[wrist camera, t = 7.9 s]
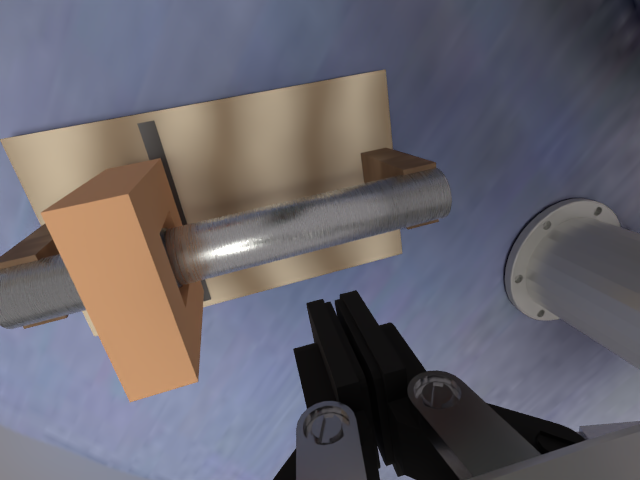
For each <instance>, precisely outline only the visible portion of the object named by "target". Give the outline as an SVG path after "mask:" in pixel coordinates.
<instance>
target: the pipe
mask: <svg viewBox="0 0 640 480" xmlns="http://www.w3.org/2000/svg"><path fill="white" fill-rule="evenodd" d="M451 203H452V198H451V191H450V187H449V184H448V181H447V179H446V177H445V175H444V174H443V173H442V171H440V170H439V169H438V168H433V169H429V170H424V171H420V172H416V173H411V174H407V175H398V176H394V177H389V178H385V179H381V180H377V181H372V182H368V183H364V184H359V185H355V186H351V187H346V188H342V189H338V190H334V191H329V192H325V193H321V194H316V195H312V196H308V197H303V198H299V199H295V200H290V201H286V202H282V203H278V204H273V205H269V206H265V207H260V208H256V209H252V210H247V211H243V212H239V213H235V214H230V215H226V216H222V217H217V218H213V219H209V220H204V221H200V222H196V223H191V224H187V225H183V226H179V227H174V228H170V229H167V228H162V229H161V232H160V237H161V240H162V243H163V245H164V248H165V251H166V254H167V257H168V260H169V262H170V265H171V268H172V271H173V274H174V276H175V279H176V282H177V285H178V288H181V287H182V286H183V285H185V284H189V283H193V282H197V281H201V280H204V279H208V278H212V277H216V276H220V275H224V274H228V273H232V272H236V271H239V270H243V269H247V268H251V267H255V266H259V265H263V264H267V263H270V262H274V261H278V260H282V259H286V258H290V257H294V256H298V255H301V254H305V253H309V252H313V251H317V250H321V249H325V248H329V247H332V246H336V245H340V244H344V243H348V242H352V241H356V240H360V239H364V238H367V237H371V236H375V235H379V234H383V233H387V232H391V231H395V230H398V229H402V228H406V227H410V226H414V225H418V224H422V223H426V222H429V221H433V220H437V219H441V218H445V217H446V216H447V215H448V214H449V212H450V209H451ZM84 310H86V308H85V306H84V304H83V302H82V300H81V298H80V296H79V293H78V291H77V289H76V287H75V285H74V283H73V281H72V279H71V277H70V274H69V272H68V270H67V268H66V266H65V264H64V262H63V260H62V258H61V255H60V254H58V255H54V256H49V257H45V258H41V259H39V260H38V261H33V262H29V263H25V264H21V265H16V266H12V267H8V268H3V269H0V325H1V326H2V327H4V328H7V329H14V328H18V327H22V326H26V325H30V324H34V323H38V322H42V321H45V320H49V319H53V318H57V317H61V316H65V315H69V314H73V313H76V312H80V311H84Z"/></svg>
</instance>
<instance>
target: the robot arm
mask: <svg viewBox="0 0 640 480" xmlns="http://www.w3.org/2000/svg"><path fill="white" fill-rule="evenodd" d="M505 286H506V292H507V294H508V297H509V299H510V301H511V302H512V304H513V305H514V306H515V307H516V308H517V309H518V310H519V311H521V312H522V313H524V314H525V315H527V316H528V317H530V318H533V319H535V320H542V321H550V320H557V319H562V320H563V321H565V322H566V323H568V324H570V325H571V326H573V327H574V328H576V329H577V330H579V331H580V332H582V333H583V334H585V335H587V336H588V337H590V338H591V339H593V340H594V341H596V342H597V343H599V344H600V345H602V346H604V347H605V348H607V349H608V350H610V351H611V352H613V353H614V354H616V355H617V356H619V357H621V358H622V359H624V360H625V361H627V362H628V363H630V364H631V365H633V366H634V367H636V368H638V369H639V370H640V234H639V233H636V232H633V231H630V230H627V229H624V228H621V226H620V223H619V221H618V218H617V216H616V215H615V214H614V212H613V211H612V210H611V209H610V208H609V207H607V206H606V205H604V204H602V203H599V202H596V201H593V200H589V199H583V198H577V199H569V200H565V201H561V202H559V203H557V204H555V205H552V206H550V207H549V208H547V209H546V210H544V211H543V212H541V213H540V214H538V215H537V216H536V217H535V218H534V219H533V220H532V221H531V222H530V223H529V224H528V225H527V226H526V228H525V229H524V230H523V231H522V232H521V234H520V235H519V237H518V239H517V240H516V242H515V243H514V245H513V247H512V250H511V252H510V255H509V257H508V261H507V265H506V269H505ZM335 306H336V312H337V315H336V313H335V311H334V308H333V306H332V304H331V302H327V303H324V300H323V299H320V300H317V301H313V302H309V303H307V310H308V314H309V319H310V324H311V328H312V333H313V338H314V343H313V344H309V345H306V346H302V347H298V348H294V349H293V350H294V354H295V358H296V363H297V367H298V371H299V376H300V380H301V384H302V389H303V393H304V397H305V402H306V406H307V410H306V411H305V412H304V413H303V414H302V415H301V417H300V418H299V420H298V423H297V428H296V449H295V450H294V452H293V453H292V454H291V456H290V457H289V459H288V460H287V461H286V463H285V464H284V465H283V467H282V468H281V469H280V471H279V472H278V473H277V475H276V476H275V478H274V479H273V480H380V477H379V471H378V468H380V460H379V454H378V449H379V451H380V453H381V456H382V458H383V461H384V463H385V465H386V466H388V465H391V464H393V467H394V469H395V471H396V474H397V476H398V477H399V476H403V475H406V476H409V477H411V478H413V479H416V480H640V421H635V422H623V423H612V424H601V425H590V426H580V428H579V432H575V431H573V430H572V429H570V428H567V427H565V426H562V425H560V424H557V423H553V422H550V421H546V420H543V419H540V418H536V417H533V416H529V415H526V414H522V413H519V412H516V411H512V410H509V409H505V408H502V407H499V406H495V405H492V404H488V403H485V402H484V401H483V400H482V399H481V398H480V397H479V396H478V395H477V394H476V393H475V392H474V391H472V390H471V389H470V388H469V387H468V386H467V385H466V384H465V383H464V382H463V381H462V380H460V379H459V378H458V377H456V376H455V375H452V374H450V373H447V372H443V371H426V370H425V369H424V367H423V366H422V364H421V363H420V361H419V360H418V359H417V357H416V356H415V354H414V353H413V351H412V350H411V349H410V347H409V346H408V344H407V343H406V342H405V340H404V339H403V337H402V336H401V334H400V333H399V332H398V330H397V329H396V327H395V326H394V325H393V324H392V323H387V324H383V325H378V323H377V322H376V320H375V319H374V317H373V315H372V314H371V312H370V311H369V309H368V308H367V306H366V304H365V303H364V301H363V300H362V298H361V297H360V295H359V293H358V292H357V291H356V290H355V291H352V292H348V293H344V294H340V299H338V300H335ZM377 446H378V448H377Z"/></svg>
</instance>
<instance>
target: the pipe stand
mask: <svg viewBox="0 0 640 480" xmlns="http://www.w3.org/2000/svg"><path fill="white" fill-rule="evenodd" d="M0 141H1V143H2V145H3V147H4V149H5V151H6V153H7V155H8V157H9V160H10V162H11V164H12V166H13V168H14V170H15V172H16V174H17V176H18V178H19V180H20V183H21V185H22V187H23V189H24V191H25V193H26V195H27V197H28V199H29V201H30V203H31V205H32V208H33V210H34V212H35V214H36V216H37V218H38V220H39V222H40V224H41V227H40V228H38V229H37V230H36V231H34V232H33V233H32V234H30V235H29V236H28V237H26V238H25V239H24V240H22V241H21V242H20V243H18V244H17V245H16V246H14V247H13V248H12V249H10V250H9V251H8V252H6V253H5V254H3V255H2V256H1V257H0V269H3V268H8V267H12V266H16V265H21V264H25V263H29V262H33V261H38V260H39V259H41V258H45V257H49V256H54V255H58V254H60V253H59V251H58V249H57V247H56V245H55V243H54V241H53V239H52V236H51V234H50V232H49V230H48V228H47V226H46V224H45V222H44V220H43V217H42V215H41V212H42V211H44V210H45V209H47V208H48V207H50V206H51V205H53V204H54V203H56V202H57V201H59V200H60V199H62V198H63V197H65V196H66V195H68V194H69V193H71V192H72V191H74V190H75V189H77V188H78V187H80V186H82V185H83V184H85V183H86V182H88V181H89V180H91V179H92V178H94V177H95V176H97V175H98V174H100V173H101V172H103V171H104V170H106V169H109V168H114V167H119V166H124V165H129V164H134V163H139V162H144V161H149V160H153V159H158V158H161V161H162V164H163V167H164V170H165V173H166V176H167V179H168V182H169V185H170V188H171V191H172V195H173V198H174V201H175V204H176V207H177V210H178V213H179V216H180V219H181V222H182V225H187V224H191V223H196V222H200V221H204V220H209V219H213V218H217V217H222V216H226V215H230V214H235V213H239V212H243V211H247V210H252V209H256V208H260V207H265V206H269V205H273V204H278V203H282V202H286V201H290V200H295V199H299V198H303V197H308V196H312V195H316V194H321V193H325V192H329V191H334V190H338V189H342V188H346V187H351V186H355V185H359V184H364V183H368V182H372V181H377V180H381V179H385V178H389V177H394V176H398V175H407V174H411V173H416V172H420V171H424V170H429V169H433V168H436V162H432V161H429V160H426V159H423V158H419V157H416V156H413V155H409V154H406V153H403V152H399V151H396V150H393V146H392V135H391V124H390V113H389V102H388V91H387V79H386V70H380V71H374V72H368V73H363V74H357V75H352V76H346V77H341V78H335V79H330V80H324V81H319V82H313V83H308V84H302V85H297V86H291V87H285V88H280V89H274V90H269V91H263V92H258V93H252V94H247V95H241V96H236V97H230V98H225V99H219V100H214V101H208V102H203V103H197V104H192V105H186V106H181V107H175V108H170V109H164V110H159V111H153V112H148V113H142V114H137V115H131V116H126V117H120V118H114V119H109V120H103V121H98V122H92V123H87V124H81V125H76V126H70V127H65V128H59V129H54V130H48V131H43V132H37V133H32V134H26V135H21V136H15V137H10V138H5V139H0ZM435 222H439V219H437V220H433V221H429V222H426V223H422V224H418V225H414V226H410V227H406V228H407V229H412V228H416V227H419V226H423V225H427V224H431V223H435ZM399 254H402V246H401V235H400V229H398V230H395V231H391V232H387V233H383V234H379V235H375V236H371V237H367V238H364V239H360V240H356V241H352V242H348V243H344V244H340V245H336V246H332V247H329V248H325V249H321V250H317V251H313V252H309V253H305V254H301V255H298V256H294V257H290V258H286V259H282V260H278V261H274V262H270V263H267V264H263V265H259V266H255V267H251V268H247V269H243V270H239V271H236V272H232V273H228V274H224V275H220V276H216V277H212V278H208V279H204V280H201V284H202V287H203V290H204V298H203V307H206V306H209V305H213V304H217V303H220V302H224V301H228V300H232V299H235V298H239V297H243V296H246V295H250V294H254V293H258V292H261V291H265V290H269V289H272V288H276V287H280V286H284V285H287V284H291V283H295V282H298V281H302V280H306V279H309V278H313V277H317V276H321V275H324V274H328V273H332V272H335V271H339V270H343V269H347V268H350V267H354V266H358V265H361V264H365V263H369V262H373V261H376V260H380V259H384V258H387V257H391V256H395V255H399ZM82 312H83V314H84V316H85V318H86V320H87V322H88V324H89V326H90V329H91V331H92V333H93V335H94V336H98V334H97V331H96V329H95V327H94V325H93V323H92V321H91V319H90V317H89V315H88V312H87V310H84V311H82ZM67 317H68V315H65V316H61V317H57V318H53V319H49V320H45V321H42V322H38V323H34V324H30V325H26V326H23V328H24V329H26V328H29V327H33V326H37V325H41V324H45V323H49V322H53V321H57V320H60V319H64V318H67Z"/></svg>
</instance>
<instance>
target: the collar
mask: <svg viewBox="0 0 640 480" xmlns="http://www.w3.org/2000/svg"><path fill="white" fill-rule="evenodd" d="M41 215H42V217H43V220H44V222H45V224H46V226H47V228H48V230H49V232H50V234H51V236H52V239H53V241H54V243H55V245H56V247H57V249H58V251H59V253H60V255H61V258H62V260H63V262H64V264H65V266H66V268H67V270H68V272H69V274H70V277H71V279H72V281H73V283H74V285H75V287H76V289H77V291H78V293H79V296H80V298H81V300H82V302H83V304H84V306H85V308H86V310H87V312H88V315H89V317H90V319H91V321H92V323H93V325H94V327H95V329H96V331H97V334H98V336H99V338H100V340H101V342H102V344H103V346H104V348H105V350H106V353H107V355H108V357H109V359H110V361H111V363H112V365H113V367H114V369H115V372H116V374H117V376H118V378H119V380H120V382H121V384H122V386H123V388H124V391H125V393H126V395H127V397H128V399H129V401H130V402H133V401H136V400H139V399H143V398H146V397H149V396H153V395H156V394H159V393H162V392H166V391H169V390H172V389H176V388H179V387H182V386H186V385H189V384H192V383H196V382H198V376H199V360H200V345H201V329H202V314H203V298H204V290H203V287H202V284H201V281H197V282H193V283H189V284H185V285H183V286H182V287H181V288H178V285H177V282H176V279H175V276H174V274H173V271H172V268H171V265H170V262H169V260H168V257H167V254H166V251H165V248H164V245H163V243H162V240H161V237H160V232H161V229H162V228H167V229H170V228H174V227H179V226H183V225H182V222H181V219H180V216H179V213H178V210H177V207H176V204H175V201H174V198H173V195H172V191H171V188H170V185H169V182H168V179H167V176H166V173H165V170H164V167H163V164H162V161H161V158H158V159H153V160H149V161H144V162H139V163H134V164H129V165H124V166H119V167H114V168H109V169H106V170H104V171H103V172H101V173H100V174H98V175H97V176H95V177H94V178H92V179H91V180H89V181H88V182H86V183H85V184H83V185H82V186H80V187H78V188H77V189H75V190H74V191H72V192H71V193H69V194H68V195H66V196H65V197H63V198H62V199H60V200H59V201H57V202H56V203H54V204H53V205H51V206H50V207H48V208H47V209H45V210H44V211H42V212H41Z"/></svg>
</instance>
